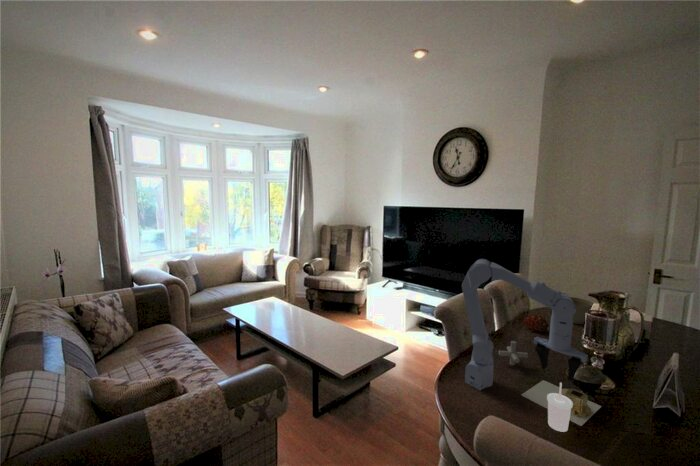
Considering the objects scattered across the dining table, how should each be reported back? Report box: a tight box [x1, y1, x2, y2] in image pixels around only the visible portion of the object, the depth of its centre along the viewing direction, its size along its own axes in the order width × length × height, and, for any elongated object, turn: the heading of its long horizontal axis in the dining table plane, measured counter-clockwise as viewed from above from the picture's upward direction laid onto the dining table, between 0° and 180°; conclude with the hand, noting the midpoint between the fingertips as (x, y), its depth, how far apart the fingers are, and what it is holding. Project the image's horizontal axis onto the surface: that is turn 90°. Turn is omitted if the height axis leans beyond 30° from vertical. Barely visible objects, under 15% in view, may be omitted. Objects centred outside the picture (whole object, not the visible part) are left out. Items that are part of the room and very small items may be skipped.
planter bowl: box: [569, 296, 595, 325], centre depth 165 cm, size 16×16×11 cm
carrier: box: [521, 380, 602, 427], centre depth 100 cm, size 15×17×4 cm
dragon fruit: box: [521, 314, 550, 333], centre depth 154 cm, size 8×8×12 cm
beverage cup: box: [547, 381, 573, 433], centre depth 88 cm, size 6×6×14 cm
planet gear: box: [566, 387, 591, 417], centre depth 95 cm, size 7×7×5 cm
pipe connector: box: [498, 340, 529, 366], centre depth 121 cm, size 10×10×10 cm
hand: (557, 373), depth 99 cm, fingers open, 7 cm apart
